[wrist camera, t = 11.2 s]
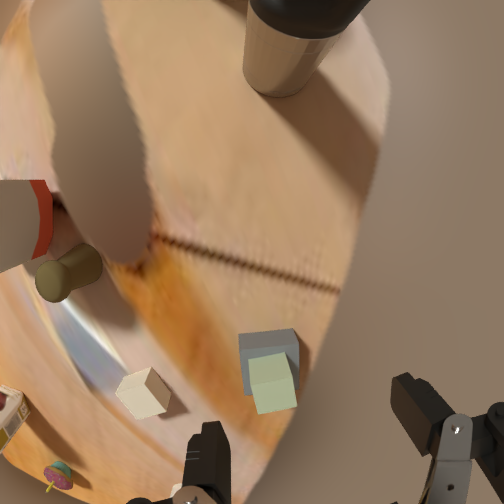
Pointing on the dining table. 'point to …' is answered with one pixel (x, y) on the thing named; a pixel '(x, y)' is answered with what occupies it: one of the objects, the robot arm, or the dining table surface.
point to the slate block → (268, 352)
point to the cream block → (144, 394)
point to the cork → (68, 273)
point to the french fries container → (24, 221)
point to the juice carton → (11, 413)
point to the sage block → (272, 383)
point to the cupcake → (59, 476)
